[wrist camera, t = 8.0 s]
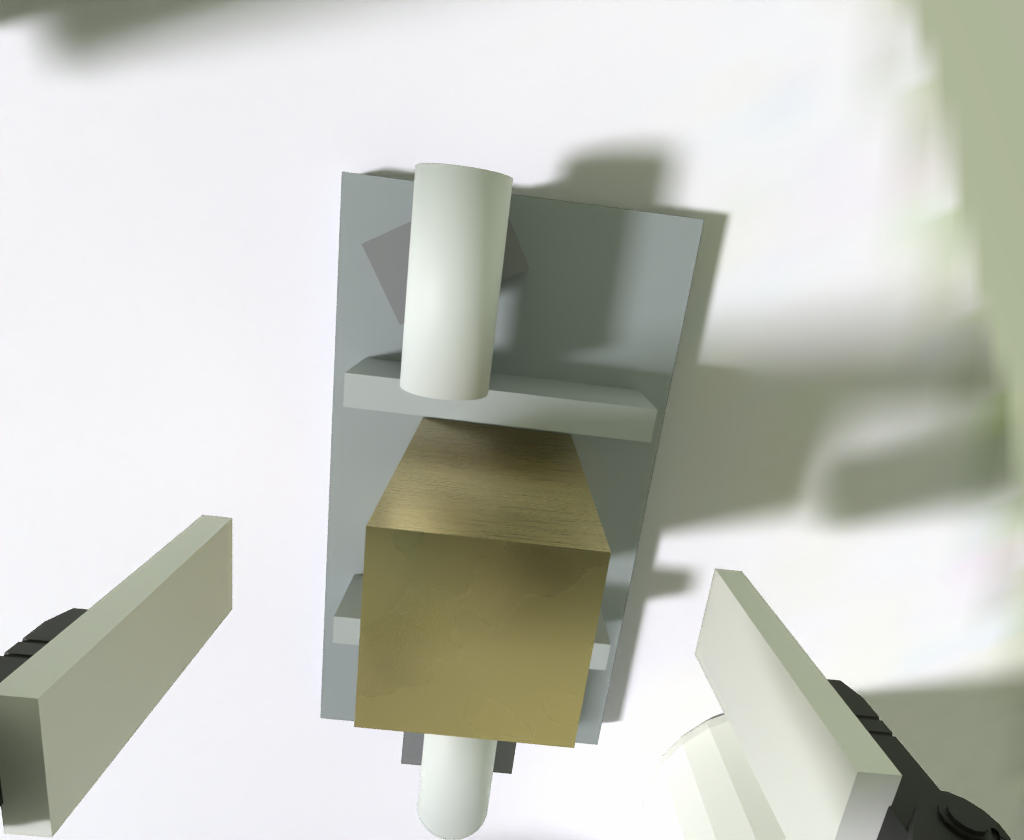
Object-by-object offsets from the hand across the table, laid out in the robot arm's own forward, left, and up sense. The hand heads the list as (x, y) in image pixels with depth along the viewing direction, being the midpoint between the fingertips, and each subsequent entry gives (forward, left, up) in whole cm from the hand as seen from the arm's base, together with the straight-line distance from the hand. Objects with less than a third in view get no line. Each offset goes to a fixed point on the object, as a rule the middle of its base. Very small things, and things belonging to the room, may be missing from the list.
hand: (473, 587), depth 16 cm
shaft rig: (0, 0, -6) cm, 6 cm away
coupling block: (+1, 0, -5) cm, 5 cm away
